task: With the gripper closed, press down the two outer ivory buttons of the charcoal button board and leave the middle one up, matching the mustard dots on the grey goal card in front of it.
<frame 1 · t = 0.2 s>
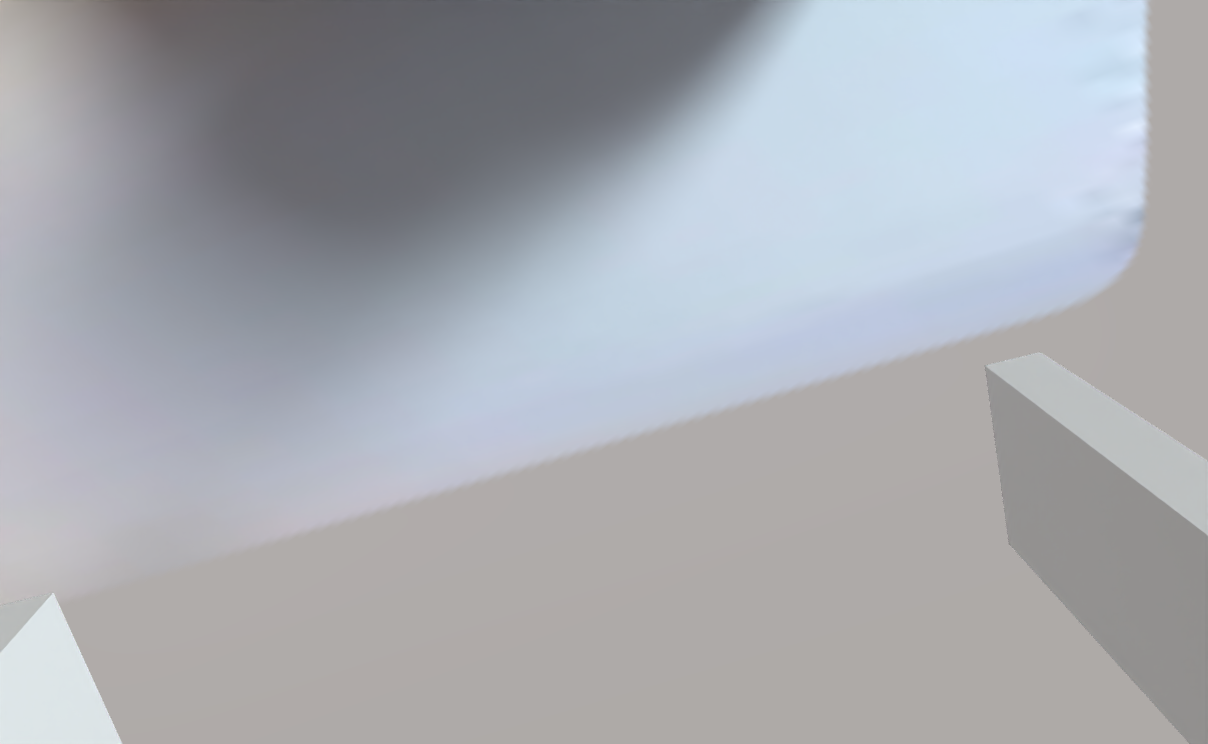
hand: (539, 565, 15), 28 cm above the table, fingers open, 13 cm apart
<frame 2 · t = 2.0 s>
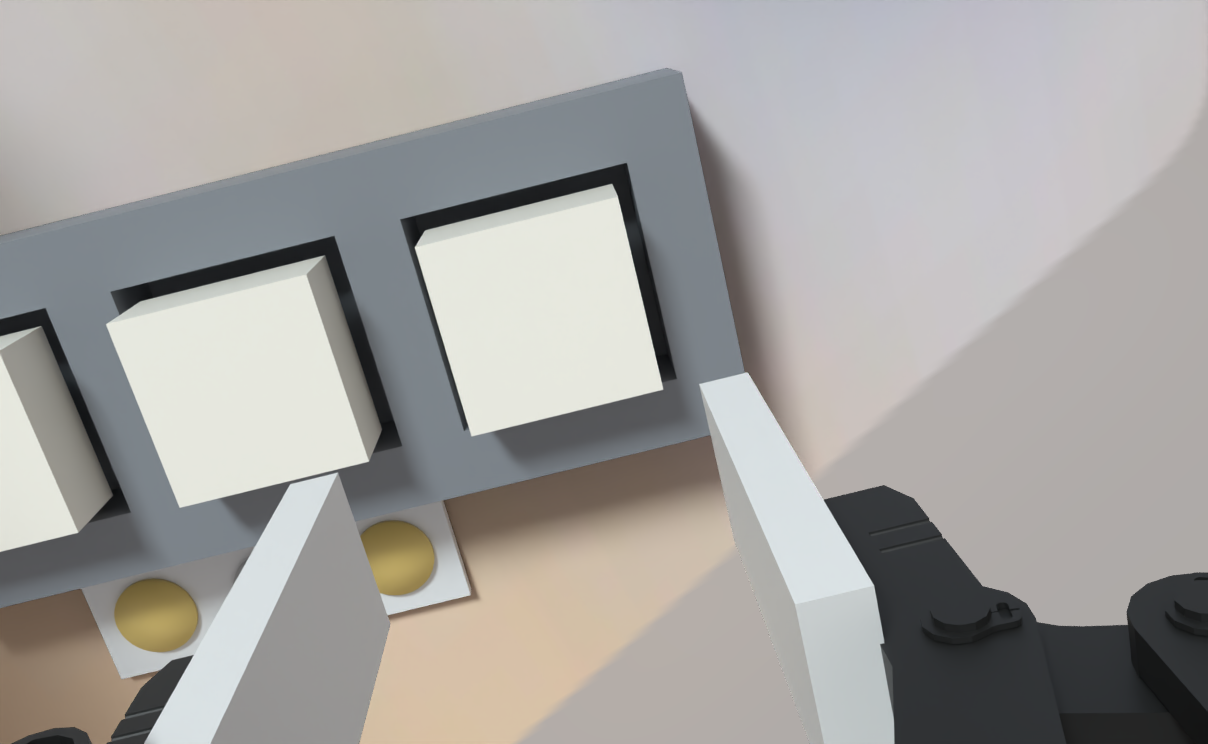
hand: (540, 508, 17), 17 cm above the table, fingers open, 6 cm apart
button 3: (542, 308, 28), point 4 cm above the table, slide at 0.0 cm
goal card: (278, 579, 35), on the table
button 2: (253, 380, 29), point 4 cm above the table, slide at 0.0 cm
board: (289, 336, 33), on the table
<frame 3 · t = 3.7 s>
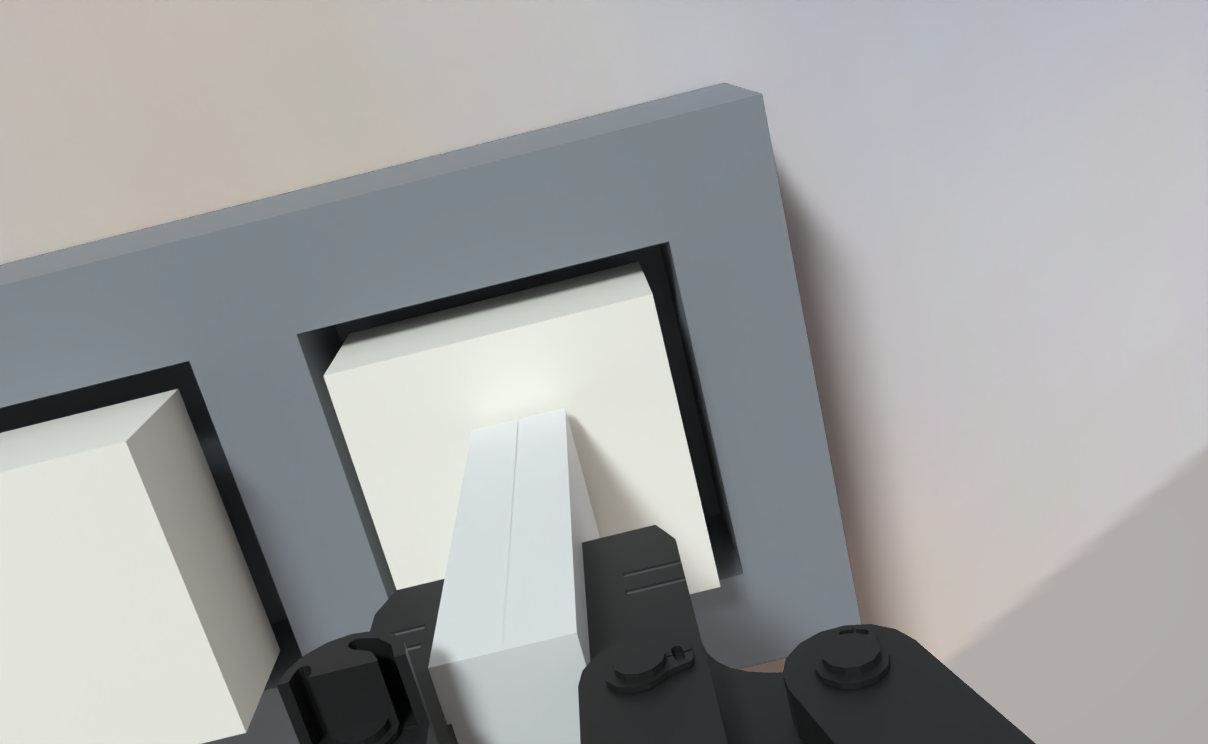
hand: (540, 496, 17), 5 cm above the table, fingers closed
button 3: (531, 457, 18), point 3 cm above the table, slide at 0.9 cm, touching gripper
button 2: (59, 594, 18), point 4 cm above the table, slide at 0.0 cm
board: (149, 487, 22), on the table
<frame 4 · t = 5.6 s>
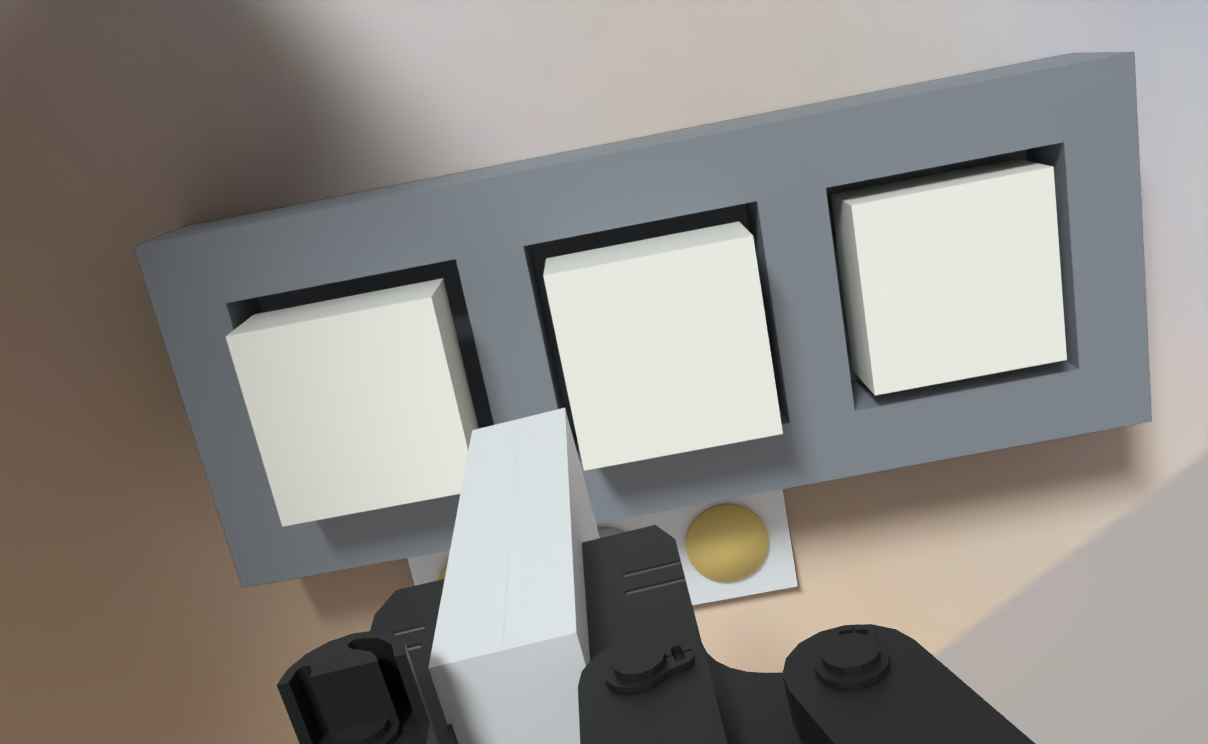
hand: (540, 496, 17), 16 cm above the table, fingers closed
button 3: (946, 275, 29), point 3 cm above the table, slide at 1.6 cm
goal card: (602, 558, 34), on the table
button 2: (662, 344, 28), point 4 cm above the table, slide at 0.0 cm
button 1: (363, 400, 28), point 4 cm above the table, slide at 0.0 cm
board: (651, 308, 32), on the table
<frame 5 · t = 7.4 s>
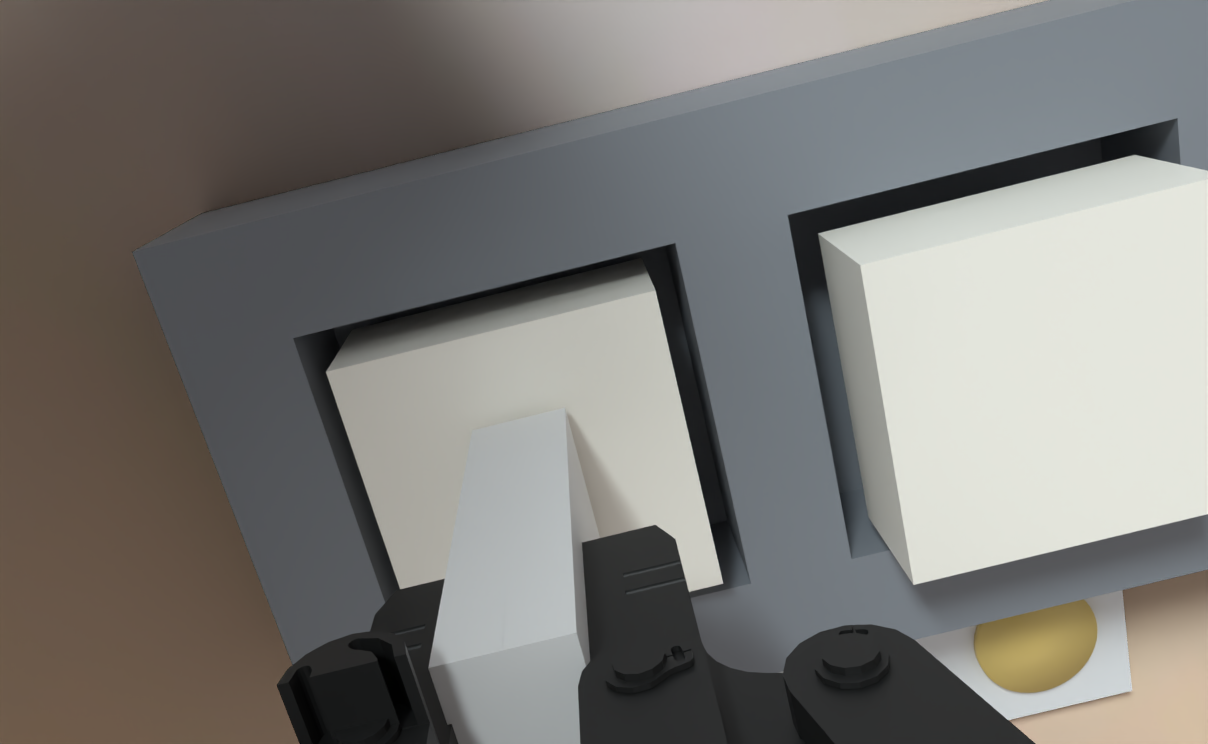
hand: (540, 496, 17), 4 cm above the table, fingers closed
goal card: (846, 668, 23), on the table
button 2: (1026, 366, 17), point 4 cm above the table, slide at 0.0 cm
button 1: (533, 454, 18), point 3 cm above the table, slide at 1.4 cm, touching gripper
board: (931, 299, 21), on the table
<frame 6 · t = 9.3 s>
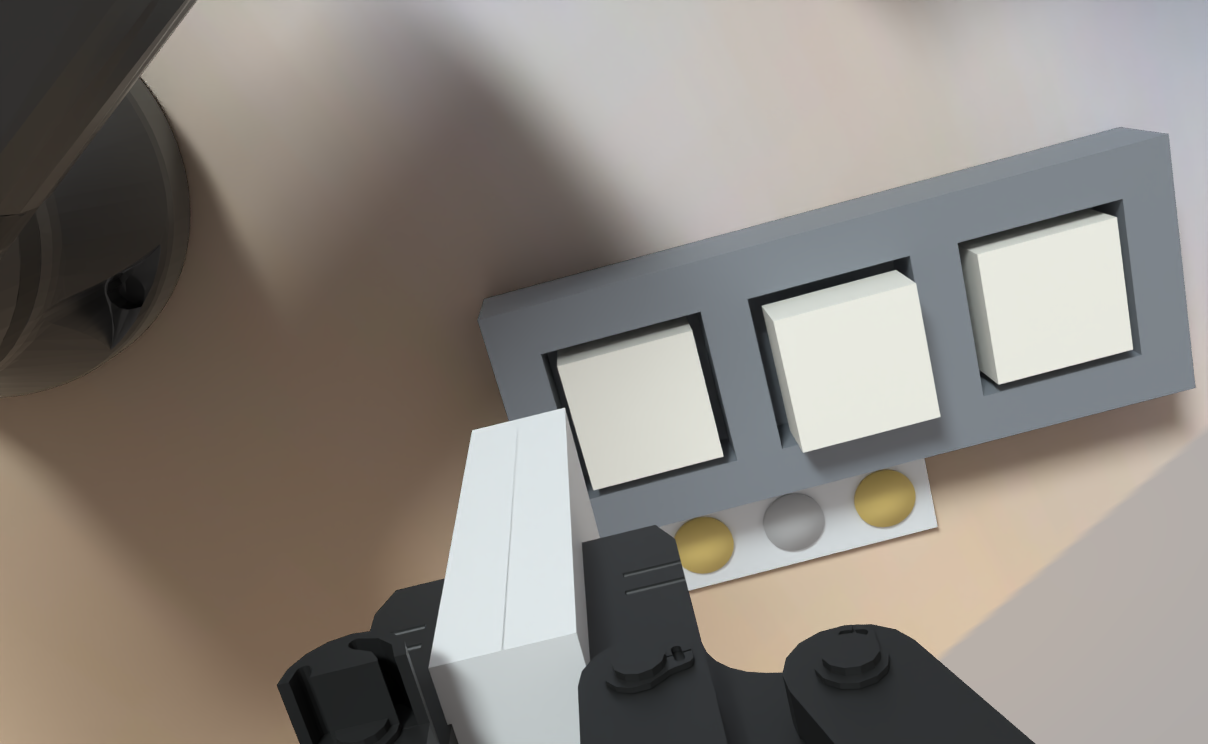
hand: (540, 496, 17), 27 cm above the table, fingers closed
button 3: (1042, 295, 41), point 3 cm above the table, slide at 1.6 cm
goal card: (791, 517, 46), on the table
button 2: (849, 360, 40), point 4 cm above the table, slide at 0.0 cm
button 1: (639, 402, 42), point 3 cm above the table, slide at 1.6 cm
board: (823, 331, 44), on the table
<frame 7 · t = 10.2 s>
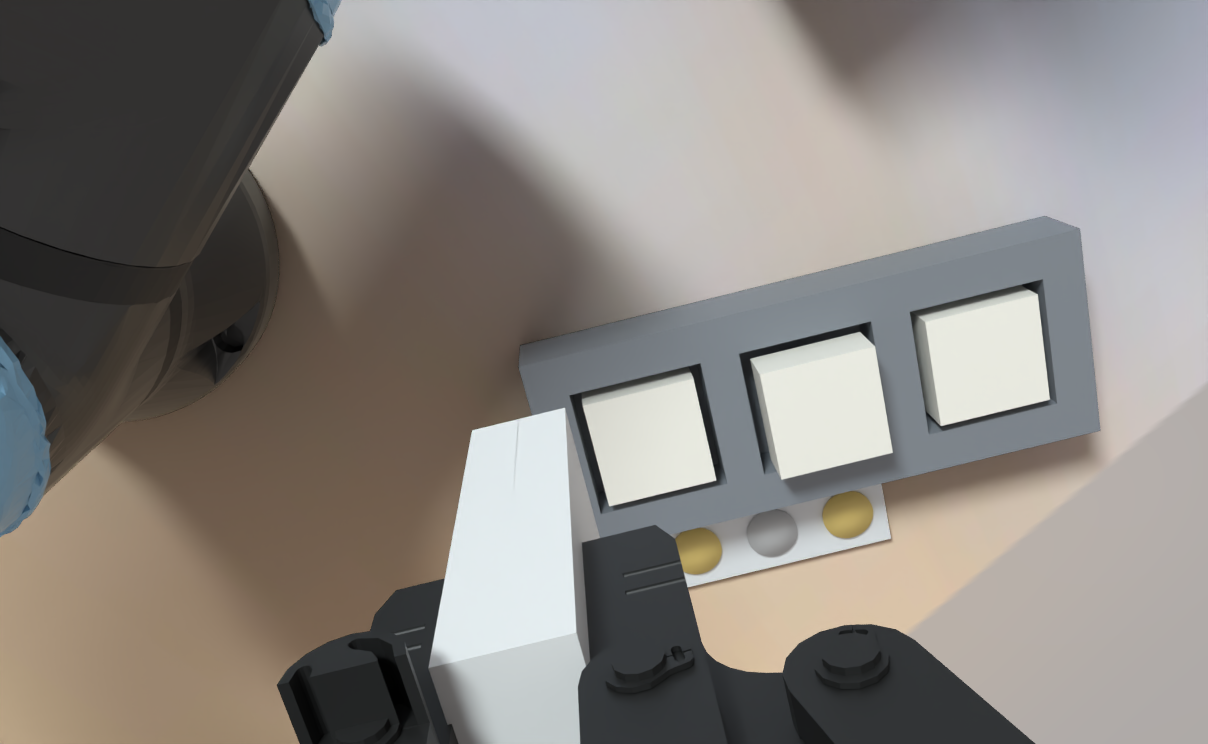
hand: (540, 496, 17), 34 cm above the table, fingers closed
button 3: (978, 353, 50), point 3 cm above the table, slide at 1.6 cm
goal card: (770, 528, 56), on the table
button 2: (820, 405, 49), point 4 cm above the table, slide at 0.0 cm
button 1: (648, 434, 51), point 3 cm above the table, slide at 1.6 cm
board: (799, 376, 53), on the table
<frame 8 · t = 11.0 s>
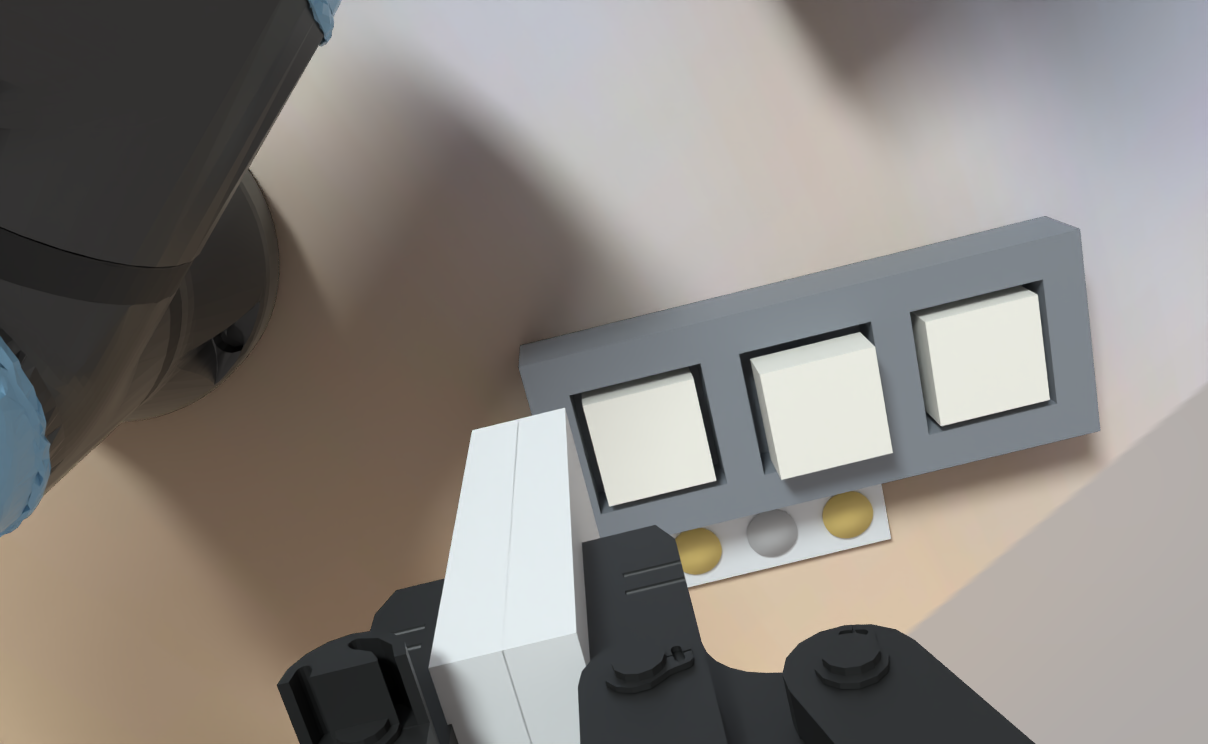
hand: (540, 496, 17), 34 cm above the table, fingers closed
button 3: (978, 354, 50), point 3 cm above the table, slide at 1.6 cm
goal card: (770, 528, 56), on the table
button 2: (820, 405, 49), point 4 cm above the table, slide at 0.0 cm
button 1: (648, 434, 51), point 3 cm above the table, slide at 1.6 cm
board: (799, 376, 53), on the table
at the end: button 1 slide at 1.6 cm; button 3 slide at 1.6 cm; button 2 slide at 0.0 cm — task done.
